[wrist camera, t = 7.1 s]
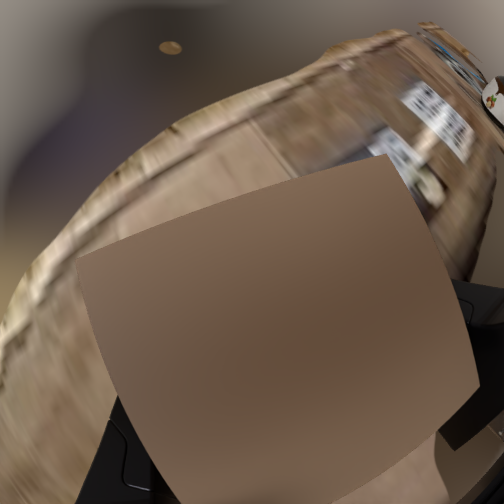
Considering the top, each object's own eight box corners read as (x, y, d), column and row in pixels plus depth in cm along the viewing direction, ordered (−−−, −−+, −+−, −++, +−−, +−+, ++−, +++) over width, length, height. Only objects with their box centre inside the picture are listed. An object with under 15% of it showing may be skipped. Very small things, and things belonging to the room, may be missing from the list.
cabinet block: (322, 359, 11) (479, 385, 3) (216, 407, 10) (214, 543, 2) (282, 266, 12) (386, 153, 4) (173, 309, 11) (74, 259, 3)
